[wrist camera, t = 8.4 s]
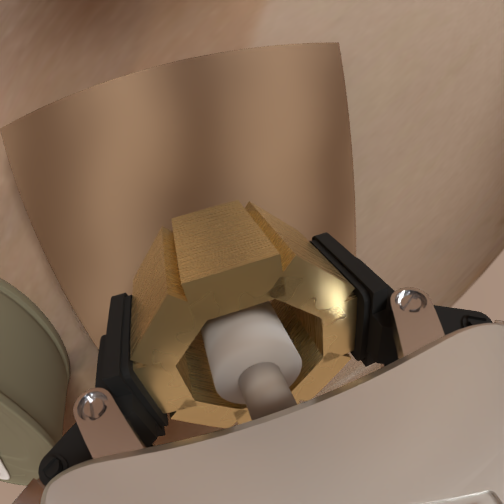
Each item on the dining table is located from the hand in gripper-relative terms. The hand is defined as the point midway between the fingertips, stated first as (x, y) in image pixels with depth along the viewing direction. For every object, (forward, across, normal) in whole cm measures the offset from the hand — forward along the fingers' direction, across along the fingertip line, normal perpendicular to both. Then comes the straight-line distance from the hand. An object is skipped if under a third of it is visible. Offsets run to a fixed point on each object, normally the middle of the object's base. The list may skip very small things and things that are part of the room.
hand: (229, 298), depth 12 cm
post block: (+4, 0, 0) cm, 4 cm away
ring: (+1, 0, 0) cm, 1 cm away
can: (+4, +15, +2) cm, 16 cm away
